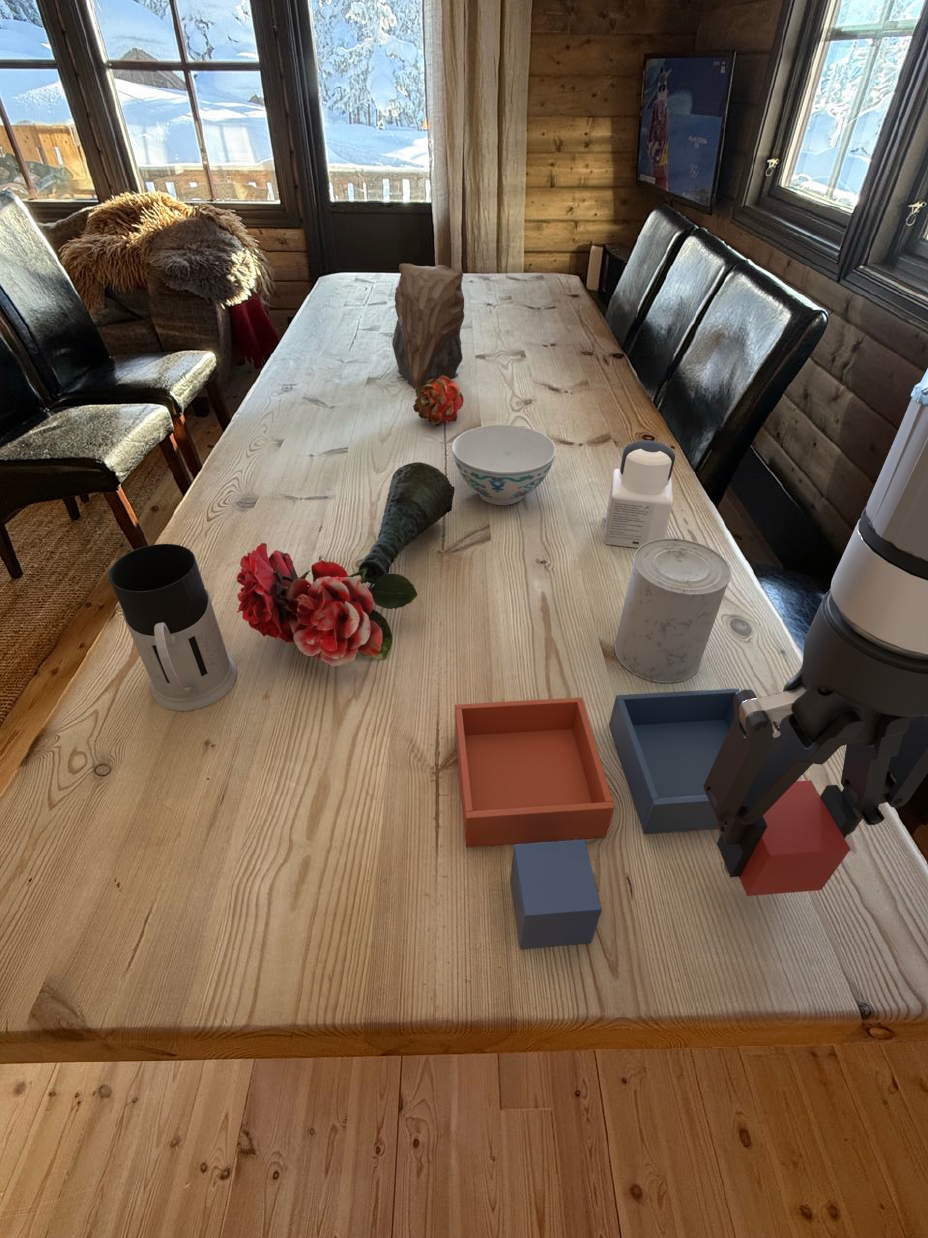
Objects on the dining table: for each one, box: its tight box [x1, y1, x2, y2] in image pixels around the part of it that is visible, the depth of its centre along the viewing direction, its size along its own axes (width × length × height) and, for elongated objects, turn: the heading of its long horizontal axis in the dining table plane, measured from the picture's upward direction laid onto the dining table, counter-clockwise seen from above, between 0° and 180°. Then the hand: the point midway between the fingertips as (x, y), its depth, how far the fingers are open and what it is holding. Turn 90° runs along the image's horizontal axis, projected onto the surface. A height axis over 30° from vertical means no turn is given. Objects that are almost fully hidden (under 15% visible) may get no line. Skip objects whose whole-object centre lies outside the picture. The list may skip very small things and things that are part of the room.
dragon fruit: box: [412, 376, 465, 427], centre depth 118 cm, size 8×8×12 cm
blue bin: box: [608, 687, 741, 835], centre depth 60 cm, size 12×12×4 cm
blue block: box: [509, 839, 603, 950], centre depth 50 cm, size 6×6×6 cm
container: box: [603, 439, 676, 549], centre depth 88 cm, size 8×8×13 cm
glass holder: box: [108, 543, 238, 712], centre depth 63 cm, size 9×14×15 cm, turn 20°
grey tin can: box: [613, 537, 732, 684], centre depth 70 cm, size 10×10×12 cm
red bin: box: [454, 696, 616, 848], centre depth 59 cm, size 12×12×4 cm
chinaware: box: [451, 424, 557, 506], centre depth 98 cm, size 15×15×8 cm
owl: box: [391, 263, 465, 389], centre depth 130 cm, size 13×13×20 cm
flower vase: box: [236, 461, 456, 667], centre depth 79 cm, size 16×18×35 cm
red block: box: [717, 779, 851, 897], centre depth 47 cm, size 6×6×6 cm
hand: (769, 856), depth 48 cm, fingers closed on red block, 5 cm apart
